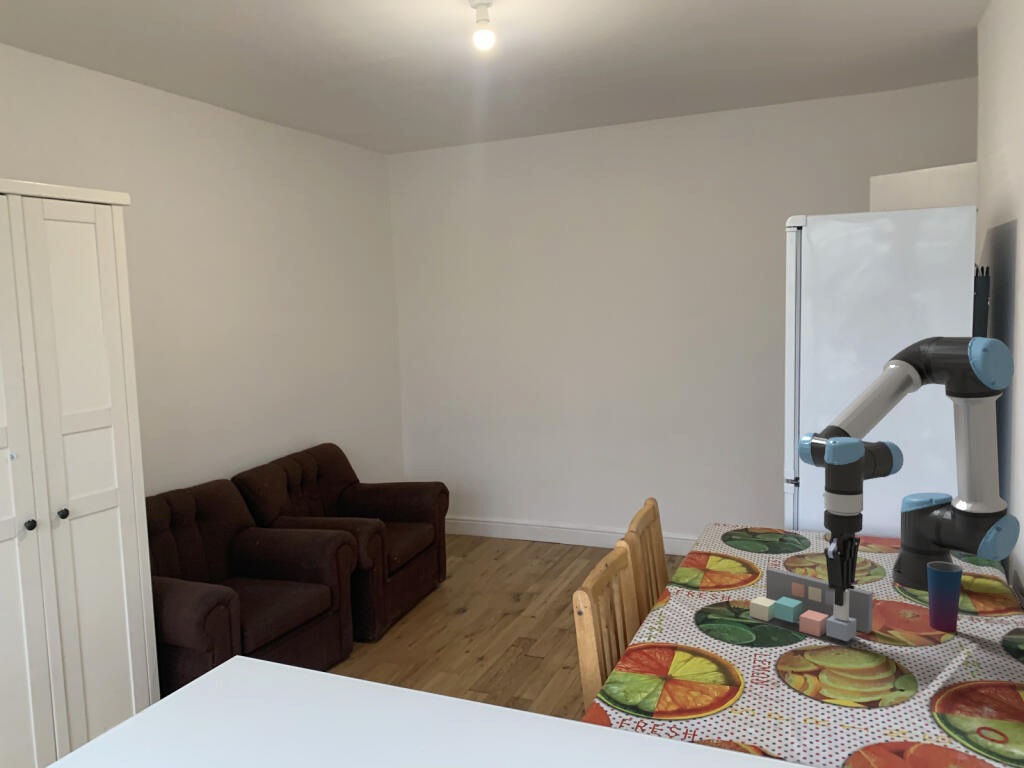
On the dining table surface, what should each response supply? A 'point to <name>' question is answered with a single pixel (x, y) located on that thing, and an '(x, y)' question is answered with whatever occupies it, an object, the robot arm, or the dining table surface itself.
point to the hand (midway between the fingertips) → (841, 618)
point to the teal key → (787, 609)
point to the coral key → (813, 623)
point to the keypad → (816, 602)
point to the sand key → (762, 608)
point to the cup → (944, 595)
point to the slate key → (841, 628)
